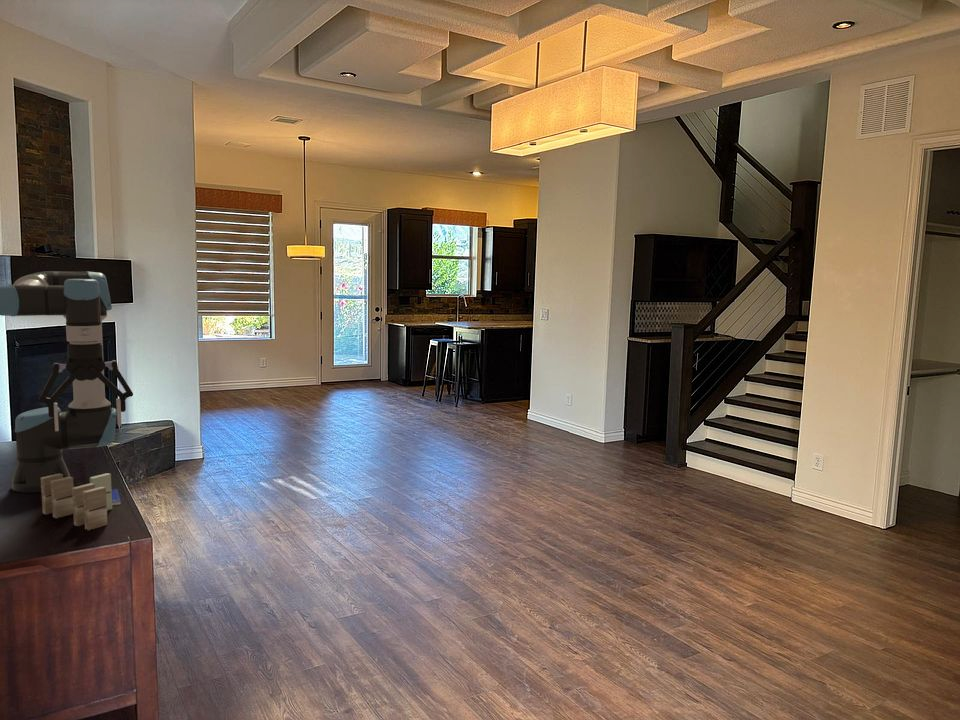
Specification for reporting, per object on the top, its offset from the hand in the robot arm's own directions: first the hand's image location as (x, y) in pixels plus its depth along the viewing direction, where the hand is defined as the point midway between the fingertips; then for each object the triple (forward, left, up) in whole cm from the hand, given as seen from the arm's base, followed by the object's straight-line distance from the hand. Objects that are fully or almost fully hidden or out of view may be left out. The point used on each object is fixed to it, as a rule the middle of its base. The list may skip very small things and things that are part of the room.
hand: (88, 427), depth 175 cm
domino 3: (-8, -2, -27) cm, 29 cm away
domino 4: (-16, +2, -27) cm, 32 cm away
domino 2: (-17, -7, -27) cm, 33 cm away
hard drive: (-26, +3, -28) cm, 39 cm away
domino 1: (-21, -9, -27) cm, 36 cm away
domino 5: (-4, +1, -27) cm, 28 cm away
